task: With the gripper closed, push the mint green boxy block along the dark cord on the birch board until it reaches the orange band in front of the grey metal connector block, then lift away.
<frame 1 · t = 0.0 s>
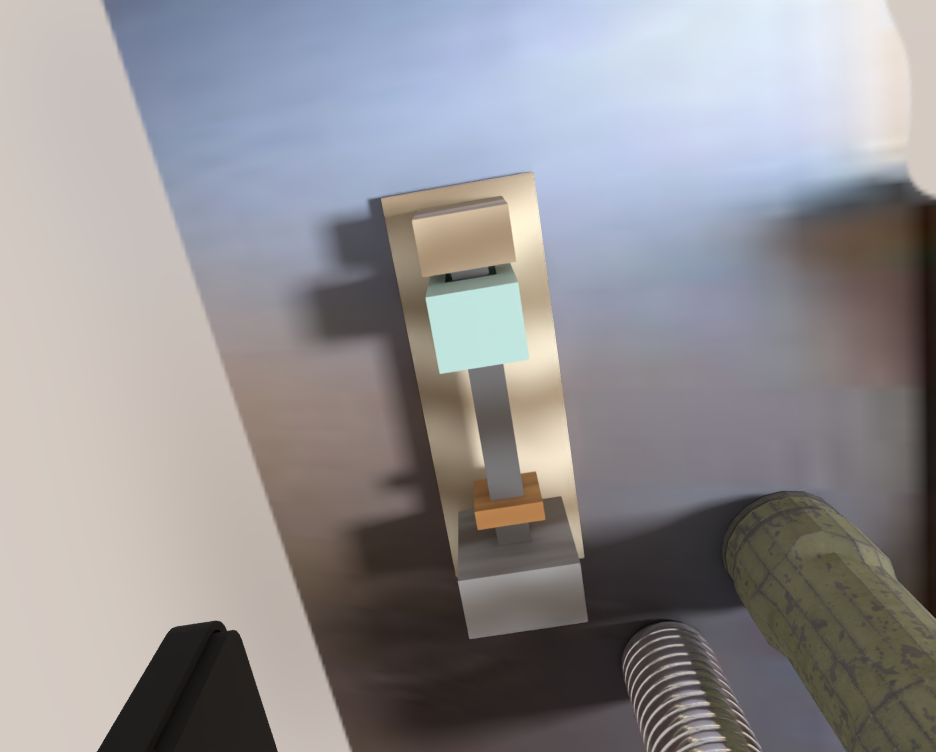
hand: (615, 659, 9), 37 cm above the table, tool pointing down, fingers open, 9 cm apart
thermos: (781, 543, 51), on the table
mint green boxy block: (476, 311, 39), point 6 cm above the table, slide at 0.0 cm
cord board: (490, 388, 47), on the table
water bottle: (663, 653, 54), on the table
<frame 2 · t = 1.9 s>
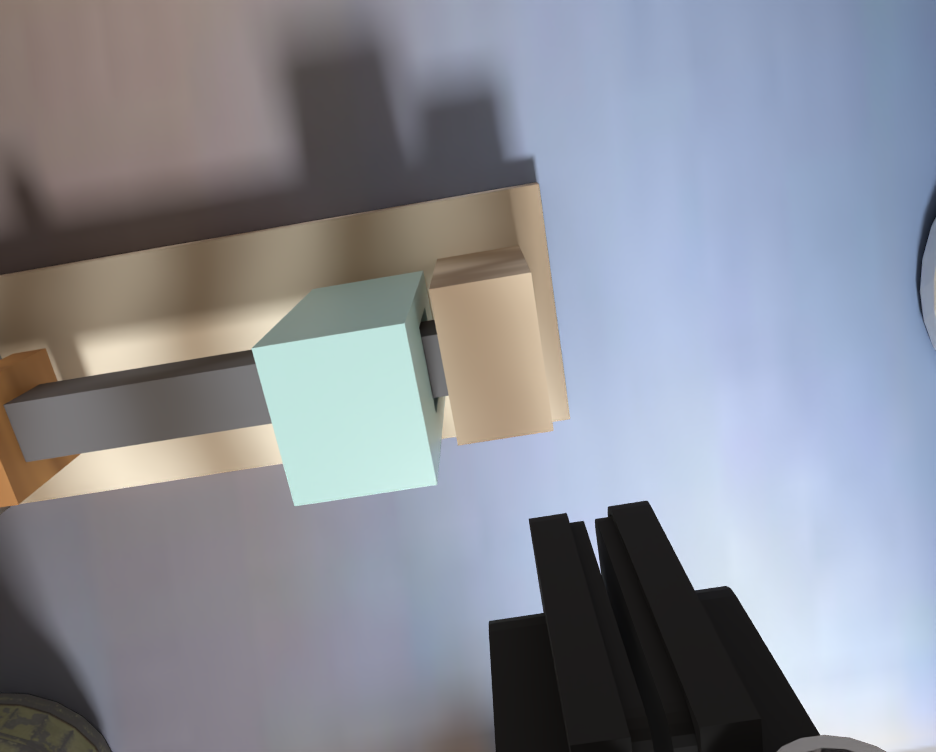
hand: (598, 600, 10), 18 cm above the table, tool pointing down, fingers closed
mint green boxy block: (366, 373, 23), point 6 cm above the table, slide at 0.0 cm
cord board: (224, 355, 28), on the table
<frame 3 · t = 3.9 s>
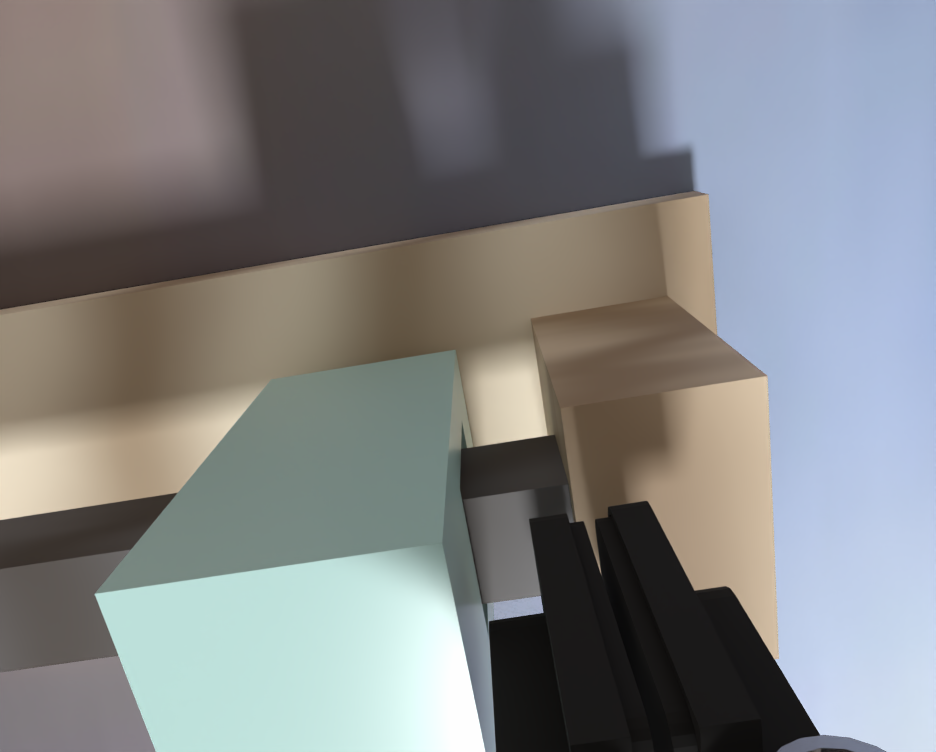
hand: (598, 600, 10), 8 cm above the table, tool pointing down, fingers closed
mint green boxy block: (359, 556, 12), point 6 cm above the table, slide at 1.2 cm, touching gripper
cord board: (184, 463, 18), on the table
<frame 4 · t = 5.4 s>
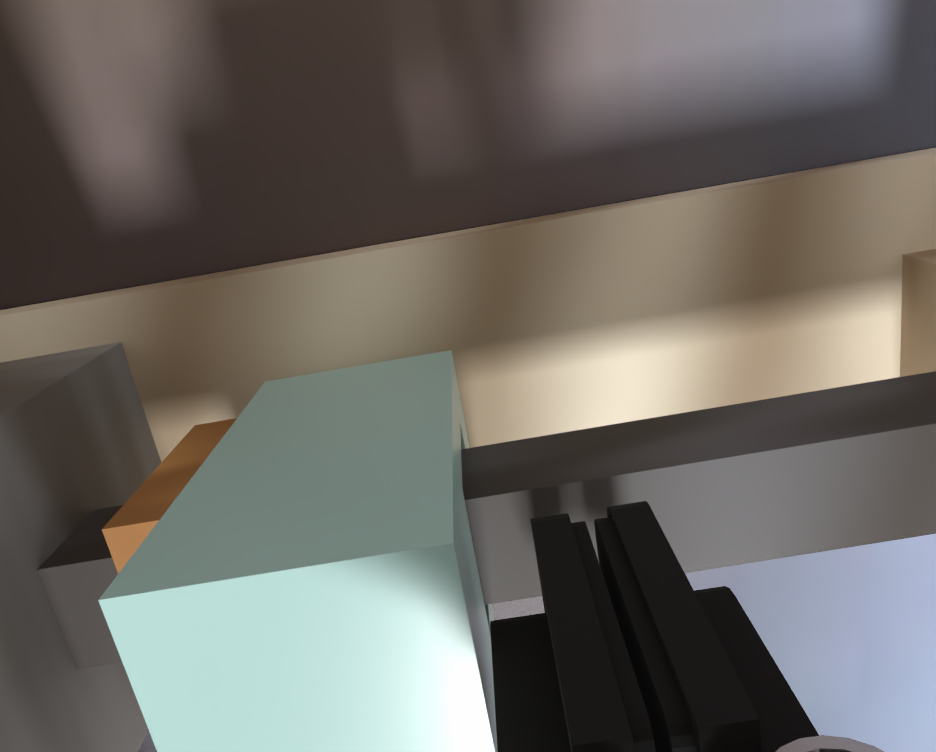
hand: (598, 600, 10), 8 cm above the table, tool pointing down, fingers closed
mint green boxy block: (359, 559, 12), point 6 cm above the table, slide at 9.4 cm, touching cord board, gripper
cord board: (504, 412, 17), on the table
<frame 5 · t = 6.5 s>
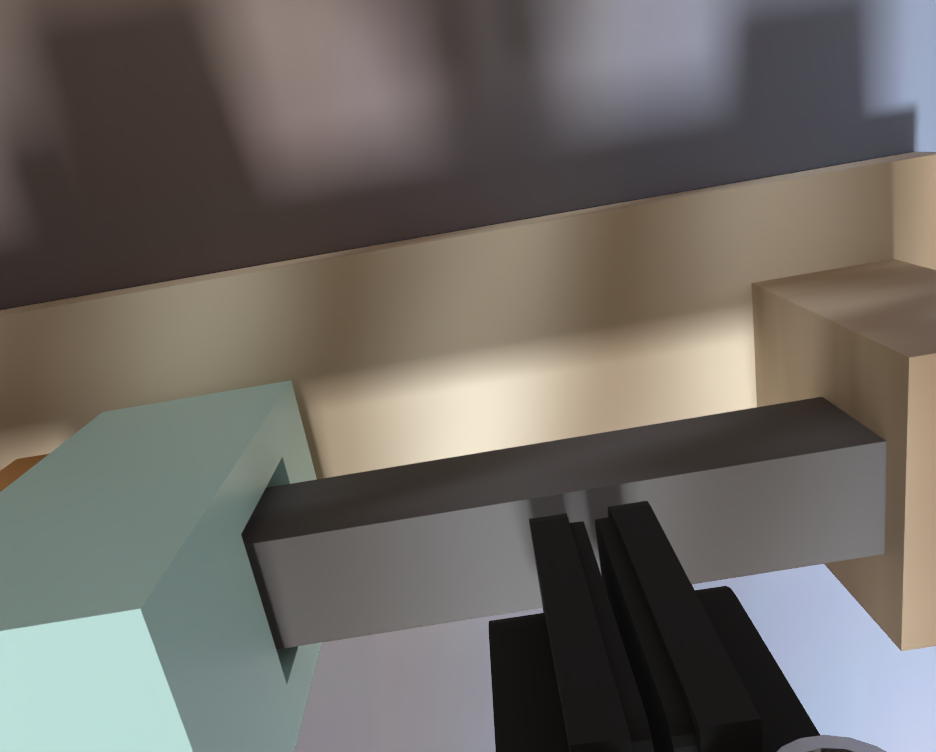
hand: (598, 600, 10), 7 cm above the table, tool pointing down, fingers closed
mint green boxy block: (159, 601, 12), point 6 cm above the table, slide at 9.3 cm
cord board: (364, 440, 17), on the table
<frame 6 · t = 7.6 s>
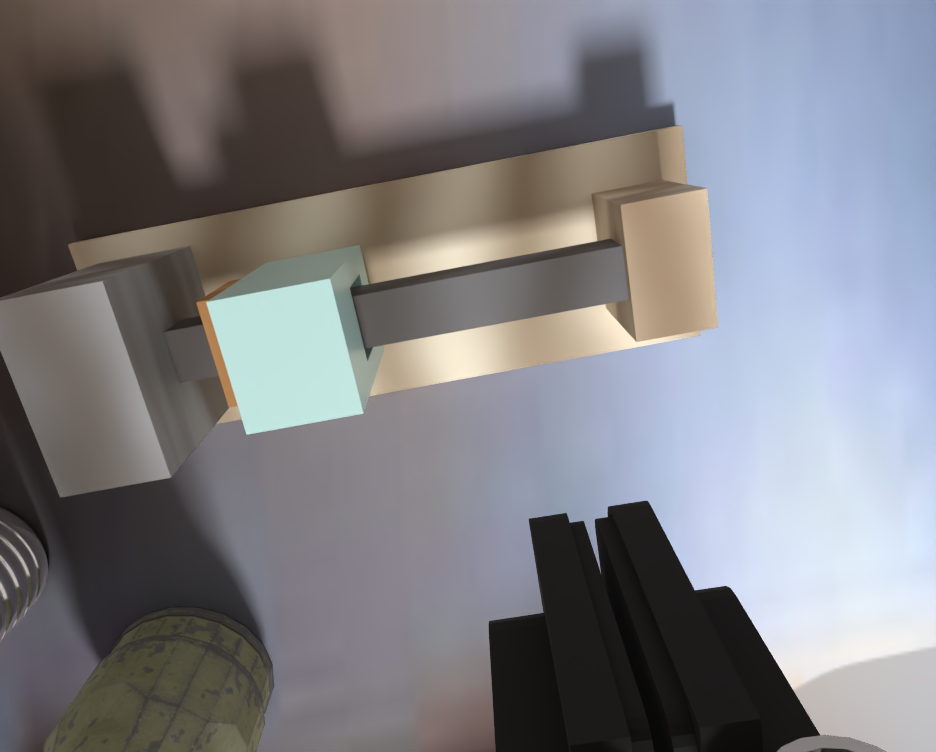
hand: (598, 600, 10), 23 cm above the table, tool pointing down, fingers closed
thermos: (195, 672, 39), on the table
mint green boxy block: (309, 329, 27), point 6 cm above the table, slide at 9.3 cm
cord board: (395, 286, 32), on the table
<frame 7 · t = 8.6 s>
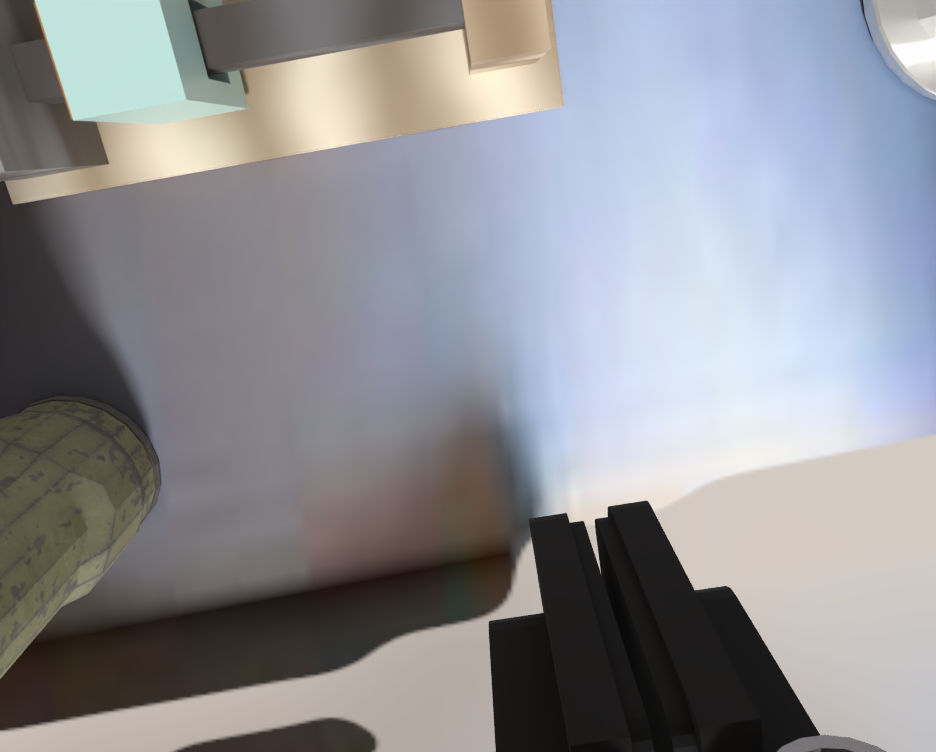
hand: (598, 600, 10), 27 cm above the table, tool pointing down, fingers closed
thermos: (84, 467, 39), on the table
mint green boxy block: (154, 50, 27), point 6 cm above the table, slide at 9.3 cm
cord board: (264, 53, 33), on the table
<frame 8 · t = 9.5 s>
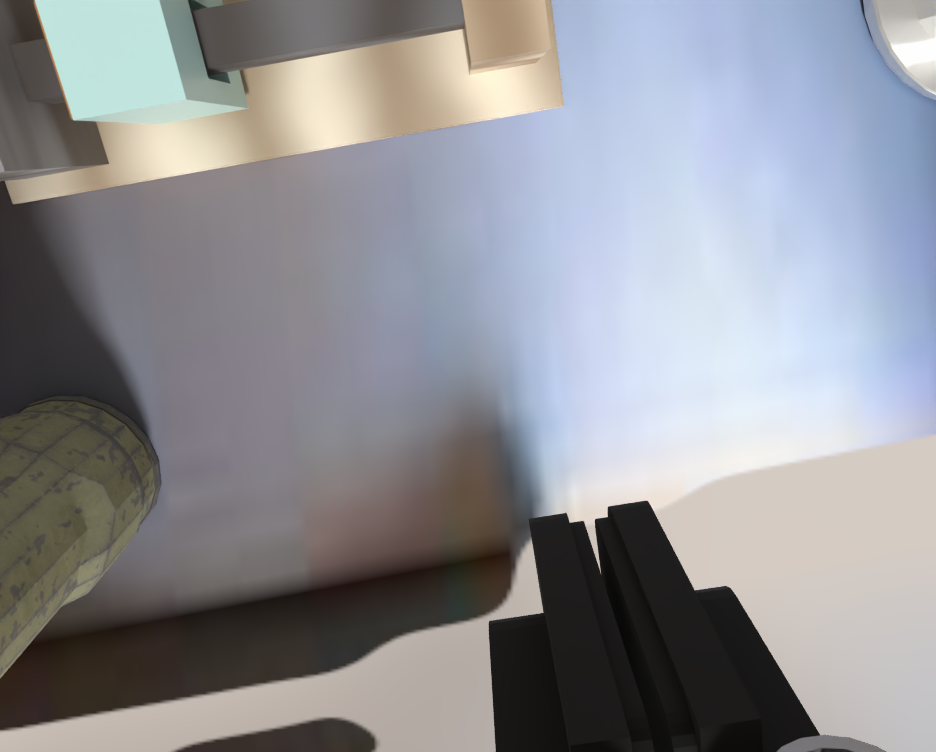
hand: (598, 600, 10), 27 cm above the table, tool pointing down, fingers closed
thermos: (84, 467, 39), on the table
mint green boxy block: (154, 50, 27), point 6 cm above the table, slide at 9.3 cm
cord board: (264, 53, 33), on the table
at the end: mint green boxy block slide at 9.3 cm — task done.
